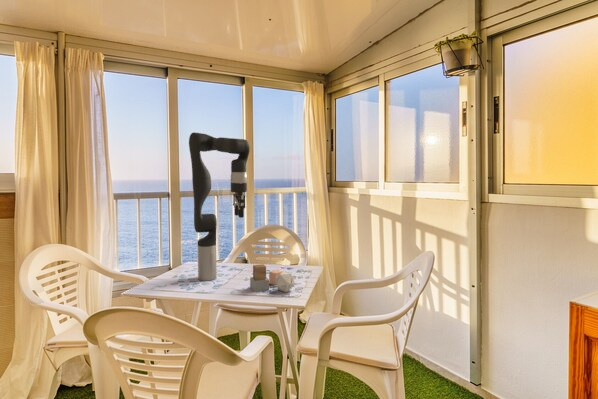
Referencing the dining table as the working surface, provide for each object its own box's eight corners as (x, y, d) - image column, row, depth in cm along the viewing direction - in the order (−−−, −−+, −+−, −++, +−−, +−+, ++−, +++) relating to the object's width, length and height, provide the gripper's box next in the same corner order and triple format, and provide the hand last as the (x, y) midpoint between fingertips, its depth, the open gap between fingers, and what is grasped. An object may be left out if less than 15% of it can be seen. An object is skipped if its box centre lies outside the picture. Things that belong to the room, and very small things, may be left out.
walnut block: (253, 277, 173) (253, 265, 173) (263, 276, 175) (263, 264, 174) (255, 280, 168) (255, 267, 168) (266, 279, 170) (266, 266, 170)
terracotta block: (269, 283, 180) (269, 271, 180) (277, 281, 184) (277, 269, 183) (275, 285, 177) (275, 273, 176) (283, 283, 180) (283, 271, 180)
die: (276, 295, 164) (290, 278, 162) (267, 282, 170) (280, 265, 168) (289, 298, 170) (302, 281, 168) (279, 284, 176) (292, 268, 174)
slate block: (250, 287, 174) (250, 277, 173) (264, 286, 176) (264, 275, 176) (254, 292, 167) (254, 281, 167) (269, 290, 170) (269, 279, 170)
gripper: (227, 181, 177) (228, 215, 178) (234, 182, 164) (234, 218, 165) (243, 181, 180) (243, 214, 181) (250, 182, 167) (250, 217, 168)
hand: (239, 216), depth 173 cm, fingers open, 8 cm apart
